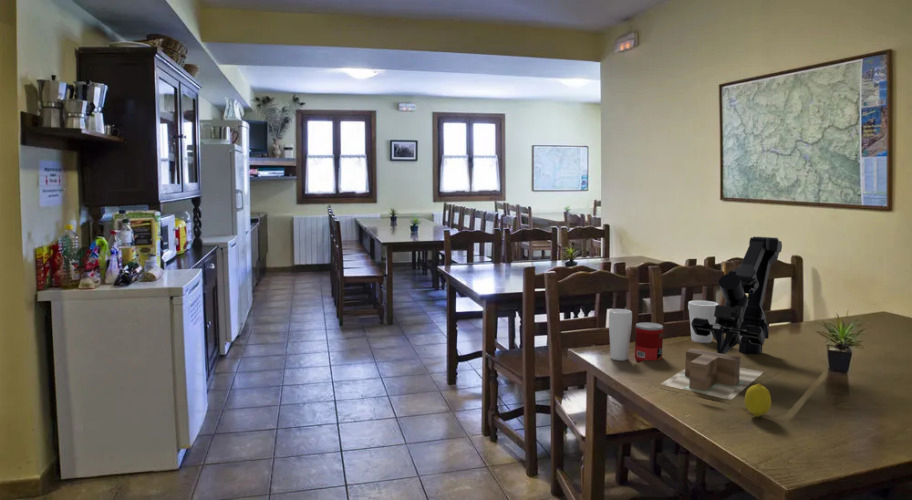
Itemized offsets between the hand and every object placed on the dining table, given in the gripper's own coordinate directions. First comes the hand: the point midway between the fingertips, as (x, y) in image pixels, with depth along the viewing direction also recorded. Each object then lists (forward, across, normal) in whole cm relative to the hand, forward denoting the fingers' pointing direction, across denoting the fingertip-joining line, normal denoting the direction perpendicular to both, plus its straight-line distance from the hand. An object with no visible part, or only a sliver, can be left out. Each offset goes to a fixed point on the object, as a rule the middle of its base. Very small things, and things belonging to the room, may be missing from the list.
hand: (719, 356), depth 174 cm
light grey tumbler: (+5, -30, +4) cm, 30 cm away
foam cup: (-22, -18, +32) cm, 42 cm away
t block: (+11, 0, -4) cm, 11 cm away
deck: (+7, 0, +1) cm, 7 cm away
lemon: (+20, +16, -12) cm, 29 cm away
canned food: (+2, -22, +7) cm, 23 cm away
